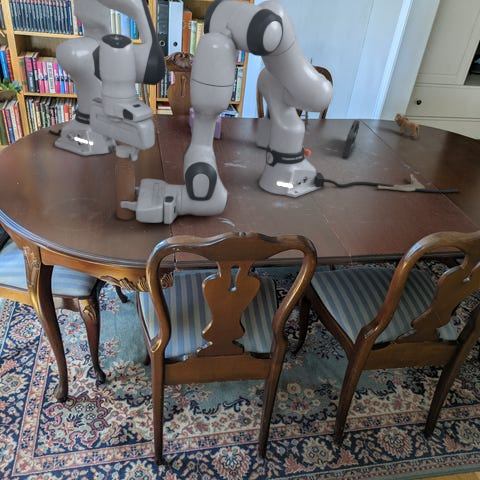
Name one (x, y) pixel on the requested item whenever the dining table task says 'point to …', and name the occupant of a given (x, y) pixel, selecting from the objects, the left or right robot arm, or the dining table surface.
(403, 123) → the lion figurine
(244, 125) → the dining table surface
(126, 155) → the cap
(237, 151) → the dining table surface
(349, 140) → the handheld gaming console
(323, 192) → the dining table surface
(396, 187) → the jawbone
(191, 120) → the clip
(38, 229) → the dining table surface
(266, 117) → the electronic device
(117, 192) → the bottle
